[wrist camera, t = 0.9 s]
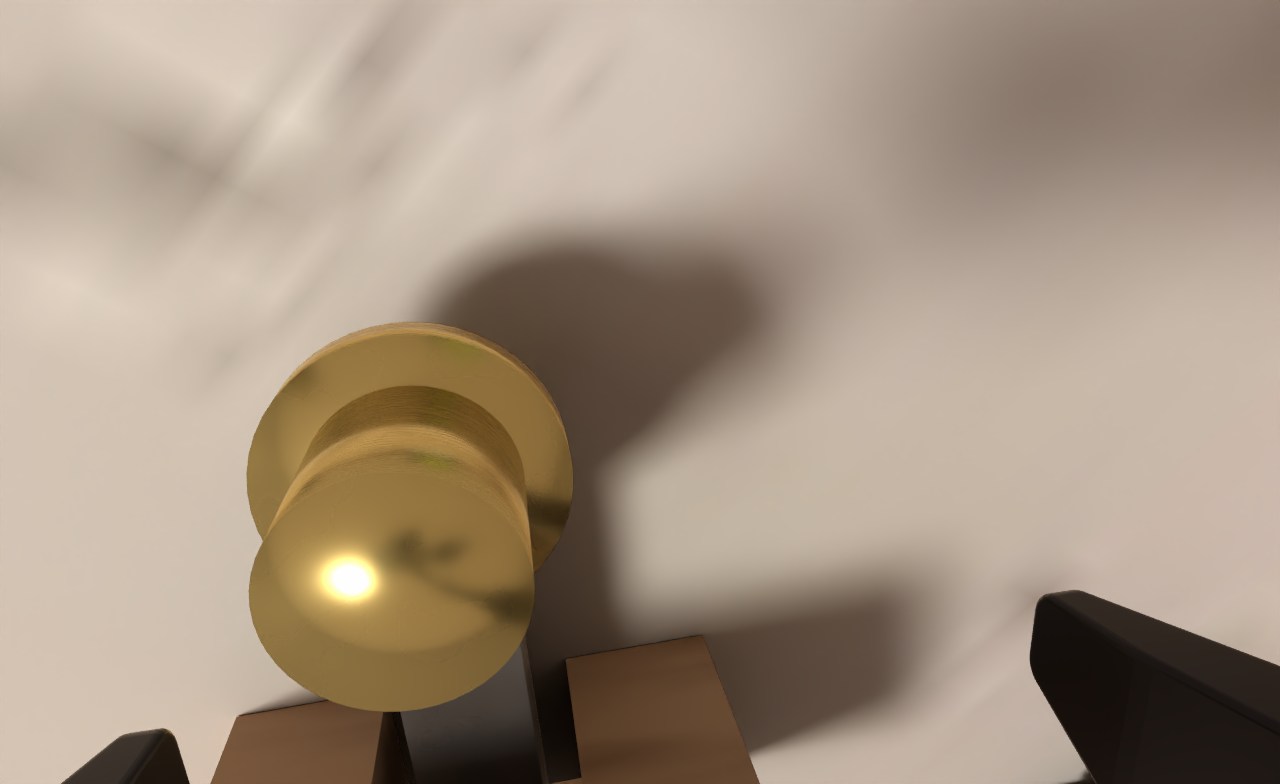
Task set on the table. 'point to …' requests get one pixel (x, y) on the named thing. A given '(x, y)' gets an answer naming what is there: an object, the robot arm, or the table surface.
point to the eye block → (603, 716)
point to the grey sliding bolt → (412, 539)
